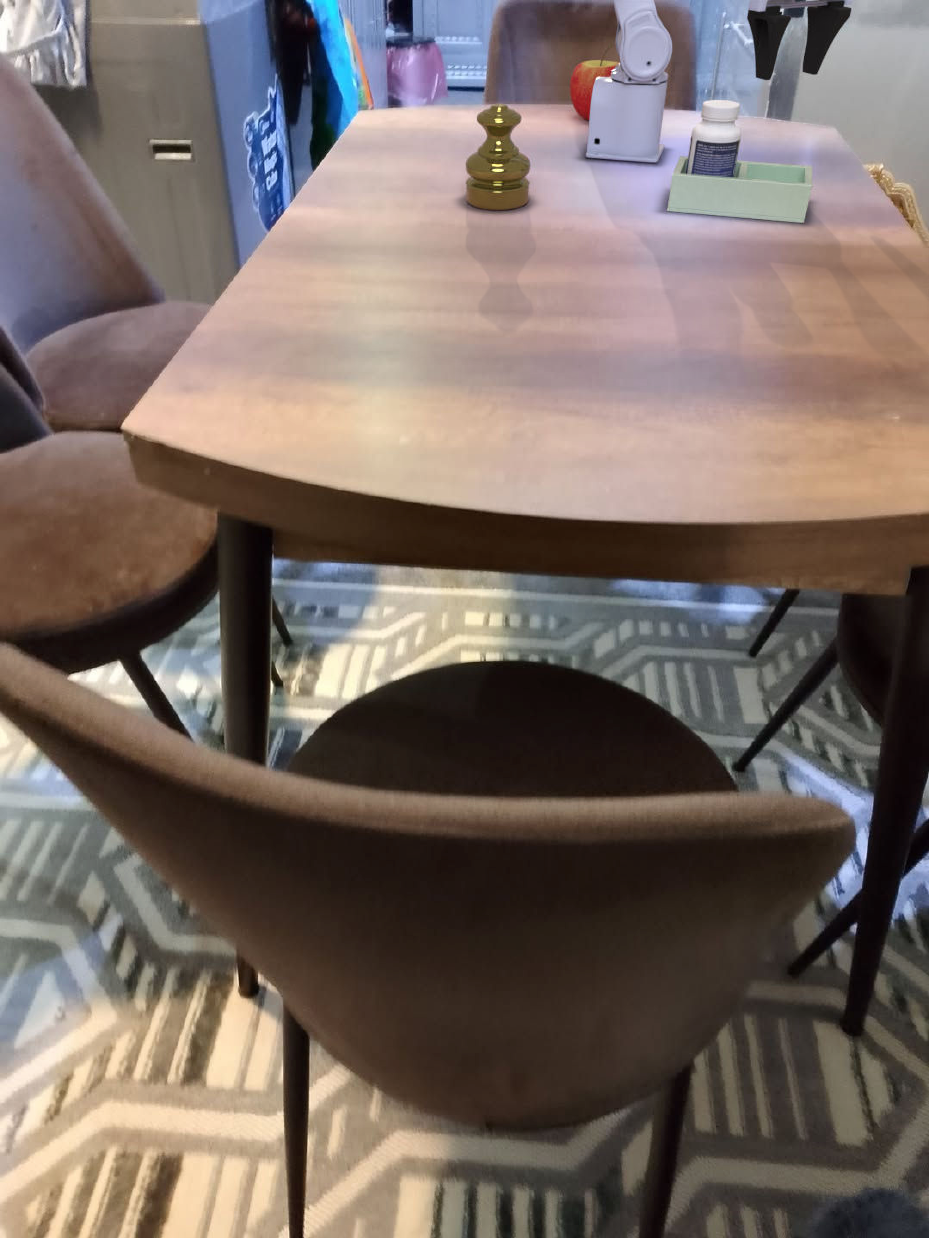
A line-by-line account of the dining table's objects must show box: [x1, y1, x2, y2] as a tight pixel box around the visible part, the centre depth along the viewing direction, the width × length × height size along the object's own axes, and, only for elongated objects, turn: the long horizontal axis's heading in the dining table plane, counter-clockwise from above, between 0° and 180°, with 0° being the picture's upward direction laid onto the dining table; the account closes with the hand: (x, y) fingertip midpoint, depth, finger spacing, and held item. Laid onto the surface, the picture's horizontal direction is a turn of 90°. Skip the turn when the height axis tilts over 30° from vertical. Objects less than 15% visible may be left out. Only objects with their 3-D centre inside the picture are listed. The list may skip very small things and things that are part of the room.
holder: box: [666, 155, 813, 224], centre depth 104 cm, size 8×15×4 cm, turn 74°
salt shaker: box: [465, 103, 531, 211], centre depth 103 cm, size 7×7×10 cm
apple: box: [569, 42, 619, 121], centre depth 133 cm, size 8×8×10 cm
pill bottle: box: [686, 99, 742, 177], centre depth 102 cm, size 5×5×10 cm
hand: (786, 76), depth 115 cm, fingers open, 7 cm apart
